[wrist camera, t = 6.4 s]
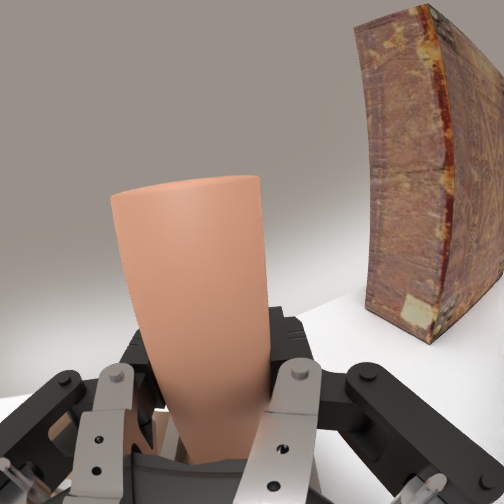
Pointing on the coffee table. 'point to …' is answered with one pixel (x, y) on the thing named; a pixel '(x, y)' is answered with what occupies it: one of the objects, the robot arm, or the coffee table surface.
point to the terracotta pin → (202, 305)
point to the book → (431, 170)
